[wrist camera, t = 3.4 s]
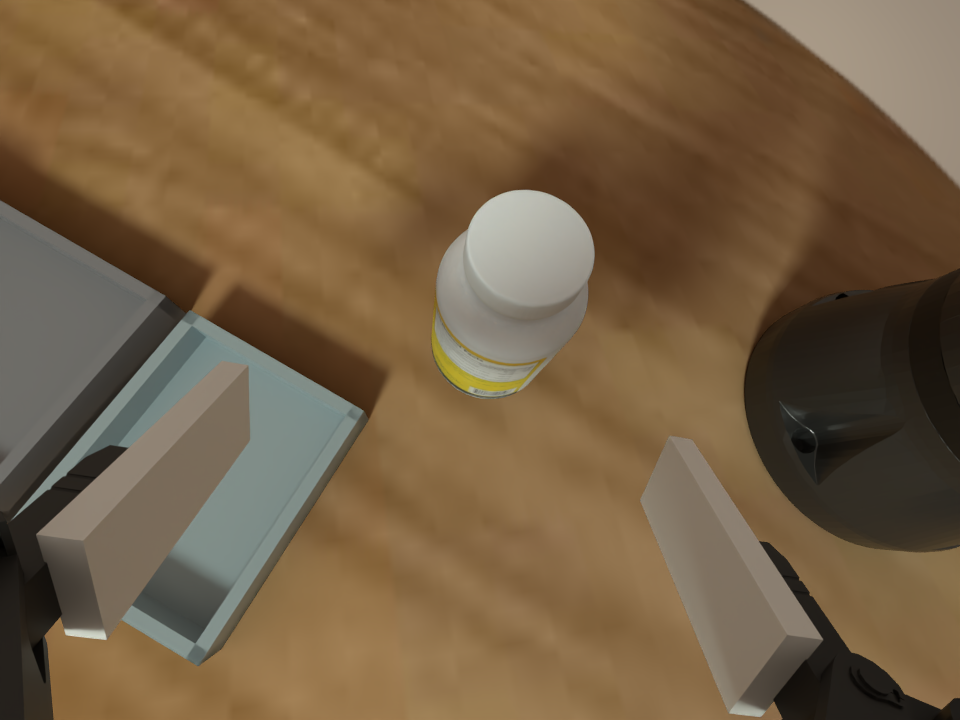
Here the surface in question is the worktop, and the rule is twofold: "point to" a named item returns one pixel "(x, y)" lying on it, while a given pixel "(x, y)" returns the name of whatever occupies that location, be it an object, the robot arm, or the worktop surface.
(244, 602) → the slate tray
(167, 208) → the worktop surface
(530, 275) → the pill bottle
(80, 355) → the charcoal tray
